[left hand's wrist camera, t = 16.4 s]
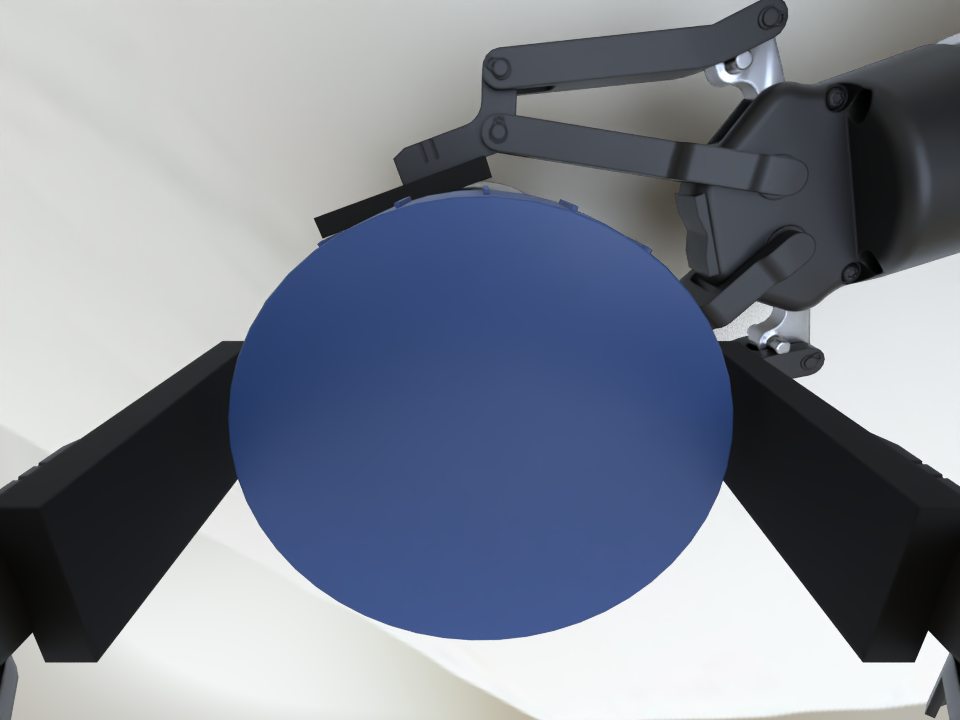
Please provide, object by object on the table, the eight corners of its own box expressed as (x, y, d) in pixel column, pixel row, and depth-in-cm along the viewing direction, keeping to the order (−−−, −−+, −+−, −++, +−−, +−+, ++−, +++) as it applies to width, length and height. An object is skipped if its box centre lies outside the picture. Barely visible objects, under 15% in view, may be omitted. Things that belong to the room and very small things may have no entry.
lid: (757, 236, 11) (820, 252, 9) (626, 597, 14) (649, 666, 12) (275, 145, 10) (225, 141, 8) (262, 546, 13) (226, 611, 11)
